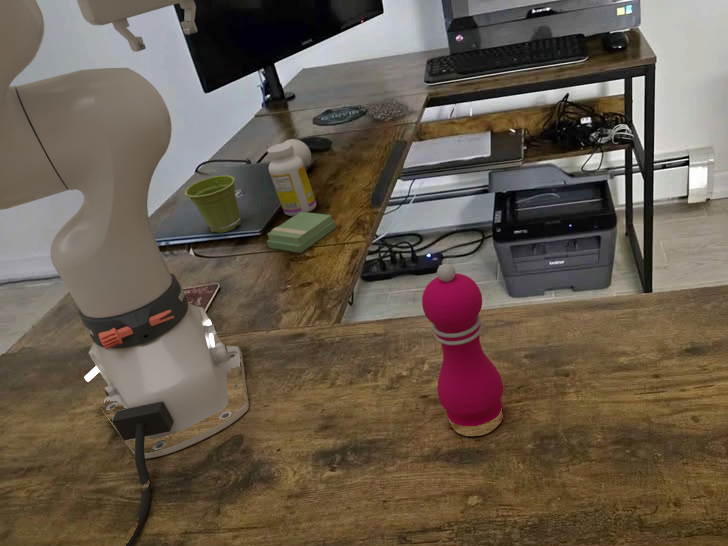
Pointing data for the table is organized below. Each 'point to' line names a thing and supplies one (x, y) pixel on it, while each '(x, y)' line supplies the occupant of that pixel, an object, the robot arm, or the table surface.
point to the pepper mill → (462, 349)
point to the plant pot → (216, 202)
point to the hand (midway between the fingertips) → (166, 41)
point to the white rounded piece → (301, 151)
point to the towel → (300, 232)
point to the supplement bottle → (290, 180)
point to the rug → (384, 109)
